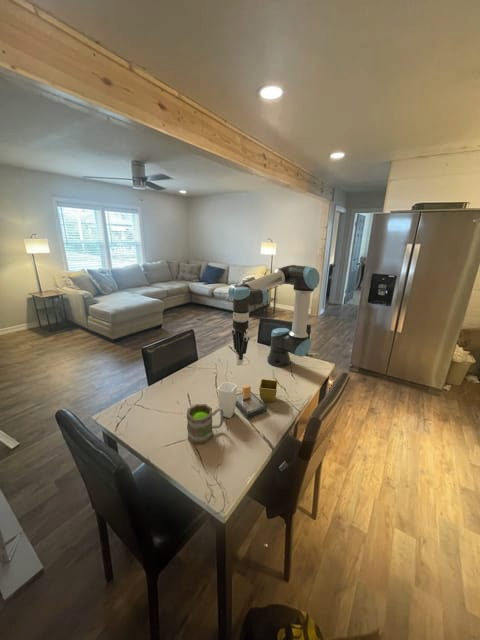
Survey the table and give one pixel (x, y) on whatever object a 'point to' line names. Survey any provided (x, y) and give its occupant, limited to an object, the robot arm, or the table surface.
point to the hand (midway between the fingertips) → (239, 364)
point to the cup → (227, 398)
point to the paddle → (246, 392)
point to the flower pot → (268, 390)
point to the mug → (201, 423)
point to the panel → (250, 405)
